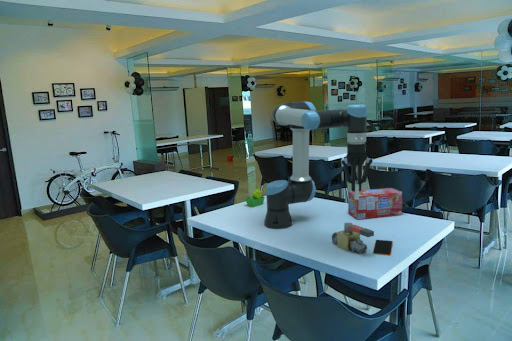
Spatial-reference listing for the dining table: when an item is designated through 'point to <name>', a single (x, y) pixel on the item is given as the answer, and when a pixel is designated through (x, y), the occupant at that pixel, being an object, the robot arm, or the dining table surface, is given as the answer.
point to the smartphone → (383, 247)
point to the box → (375, 203)
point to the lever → (357, 230)
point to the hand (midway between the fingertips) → (356, 198)
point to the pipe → (349, 241)
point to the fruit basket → (255, 199)
